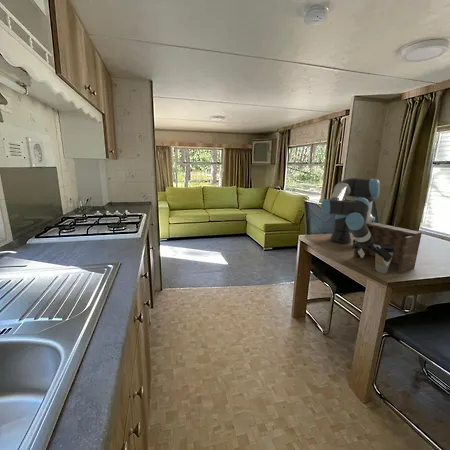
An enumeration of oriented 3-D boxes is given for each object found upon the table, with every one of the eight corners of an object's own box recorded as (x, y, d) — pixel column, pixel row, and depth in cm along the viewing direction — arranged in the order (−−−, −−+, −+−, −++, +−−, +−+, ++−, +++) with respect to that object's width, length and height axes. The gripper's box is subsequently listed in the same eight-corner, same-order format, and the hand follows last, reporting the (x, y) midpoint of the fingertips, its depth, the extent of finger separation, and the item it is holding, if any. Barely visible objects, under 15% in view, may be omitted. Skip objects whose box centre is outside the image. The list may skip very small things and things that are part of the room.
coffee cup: (381, 275, 139) (385, 249, 136) (367, 268, 148) (371, 244, 145) (394, 273, 142) (399, 248, 138) (380, 267, 151) (384, 243, 147)
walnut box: (353, 257, 166) (358, 224, 160) (367, 253, 174) (372, 222, 168) (400, 273, 142) (407, 235, 137) (414, 268, 150) (421, 232, 145)
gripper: (337, 236, 137) (350, 257, 148) (384, 250, 116) (396, 273, 127) (344, 225, 139) (357, 247, 150) (392, 237, 118) (403, 261, 129)
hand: (375, 259), depth 139 cm, fingers open, 13 cm apart
